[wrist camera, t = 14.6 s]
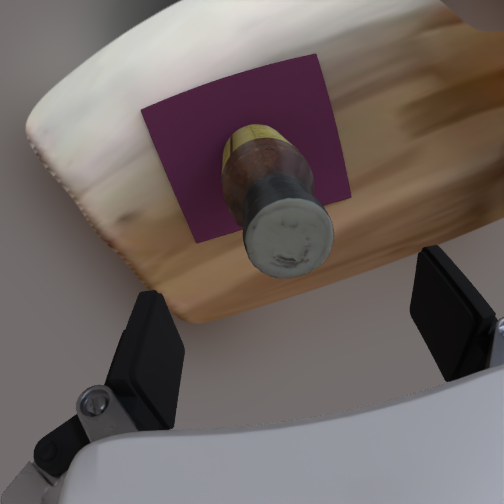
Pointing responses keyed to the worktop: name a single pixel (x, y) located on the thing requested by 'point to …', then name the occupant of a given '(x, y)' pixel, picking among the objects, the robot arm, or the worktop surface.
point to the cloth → (235, 117)
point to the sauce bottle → (275, 203)
